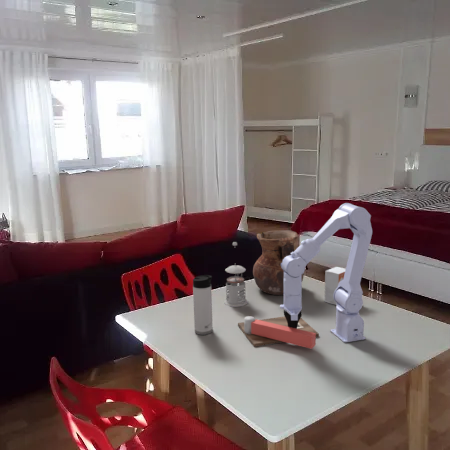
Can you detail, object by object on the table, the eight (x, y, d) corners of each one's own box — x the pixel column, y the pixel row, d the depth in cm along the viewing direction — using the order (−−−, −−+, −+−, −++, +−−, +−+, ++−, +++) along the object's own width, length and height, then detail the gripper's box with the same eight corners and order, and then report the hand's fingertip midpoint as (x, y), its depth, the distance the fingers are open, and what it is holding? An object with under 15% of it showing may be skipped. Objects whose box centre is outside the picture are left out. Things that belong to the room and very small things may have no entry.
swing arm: (311, 349, 142) (311, 335, 141) (242, 331, 155) (242, 319, 154) (315, 344, 145) (316, 331, 144) (247, 327, 158) (247, 315, 157)
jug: (242, 290, 199) (241, 234, 194) (273, 278, 213) (273, 225, 208) (283, 302, 183) (283, 242, 178) (313, 289, 198) (314, 232, 193)
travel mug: (211, 335, 156) (209, 279, 152) (192, 334, 157) (190, 278, 153) (215, 327, 162) (213, 273, 158) (197, 326, 163) (195, 272, 159)
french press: (220, 305, 182) (219, 244, 177) (229, 295, 193) (227, 237, 188) (244, 307, 179) (243, 245, 174) (251, 297, 190) (251, 238, 185)
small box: (337, 305, 179) (338, 274, 176) (324, 301, 184) (324, 270, 181) (348, 300, 185) (350, 269, 182) (335, 296, 189) (336, 266, 186)
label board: (318, 336, 153) (318, 333, 153) (253, 346, 147) (253, 343, 147) (297, 317, 169) (297, 314, 169) (237, 325, 163) (237, 322, 163)
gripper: (278, 285, 155) (278, 322, 157) (281, 301, 140) (281, 342, 143) (299, 285, 154) (299, 322, 157) (304, 301, 140) (304, 342, 143)
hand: (292, 332), depth 150 cm, fingers closed
